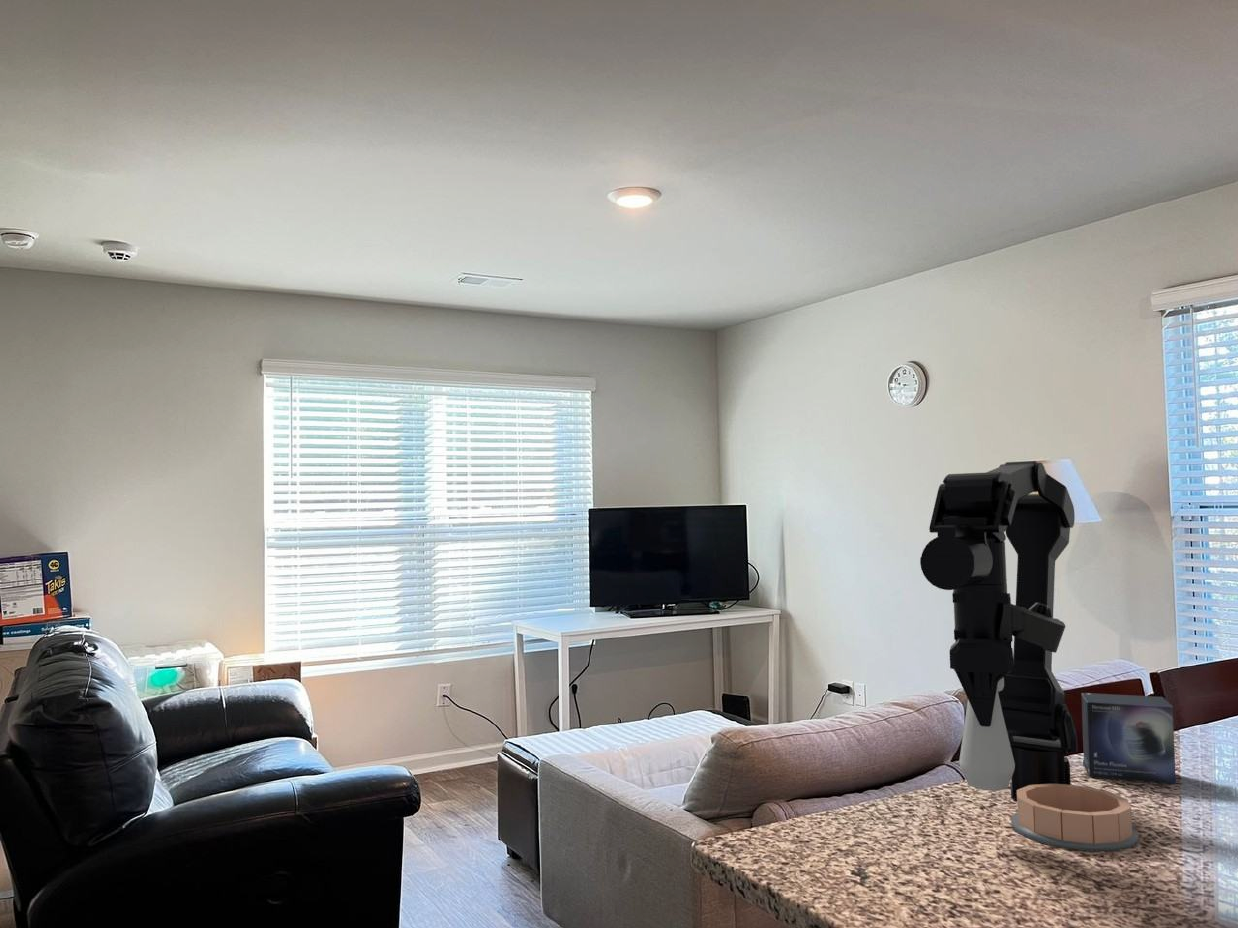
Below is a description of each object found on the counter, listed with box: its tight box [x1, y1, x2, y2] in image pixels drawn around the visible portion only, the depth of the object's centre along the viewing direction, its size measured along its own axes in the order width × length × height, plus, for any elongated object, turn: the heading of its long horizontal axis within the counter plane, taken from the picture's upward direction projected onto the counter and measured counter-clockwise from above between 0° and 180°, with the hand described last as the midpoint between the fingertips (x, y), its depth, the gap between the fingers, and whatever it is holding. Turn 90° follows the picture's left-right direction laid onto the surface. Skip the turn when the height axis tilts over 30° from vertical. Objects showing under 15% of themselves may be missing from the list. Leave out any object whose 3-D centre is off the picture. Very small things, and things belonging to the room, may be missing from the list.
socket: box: [1010, 784, 1140, 852], centre depth 104 cm, size 13×13×4 cm
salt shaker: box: [958, 677, 1015, 792], centre depth 103 cm, size 6×6×13 cm
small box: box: [1080, 692, 1177, 785], centre depth 126 cm, size 11×6×10 cm, turn 70°
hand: (985, 722), depth 103 cm, fingers closed on salt shaker, 4 cm apart
